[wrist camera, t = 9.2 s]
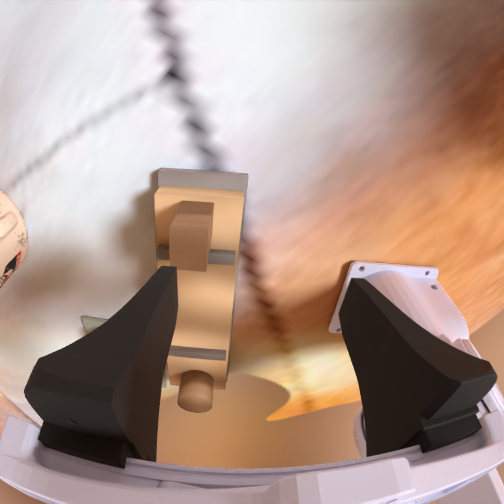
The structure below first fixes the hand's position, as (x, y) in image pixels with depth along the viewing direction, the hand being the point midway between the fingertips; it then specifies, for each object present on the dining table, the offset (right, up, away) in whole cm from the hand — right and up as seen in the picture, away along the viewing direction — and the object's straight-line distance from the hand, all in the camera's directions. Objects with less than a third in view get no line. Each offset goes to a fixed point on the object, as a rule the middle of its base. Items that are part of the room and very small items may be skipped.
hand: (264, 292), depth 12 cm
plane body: (-5, -2, +13) cm, 14 cm away
